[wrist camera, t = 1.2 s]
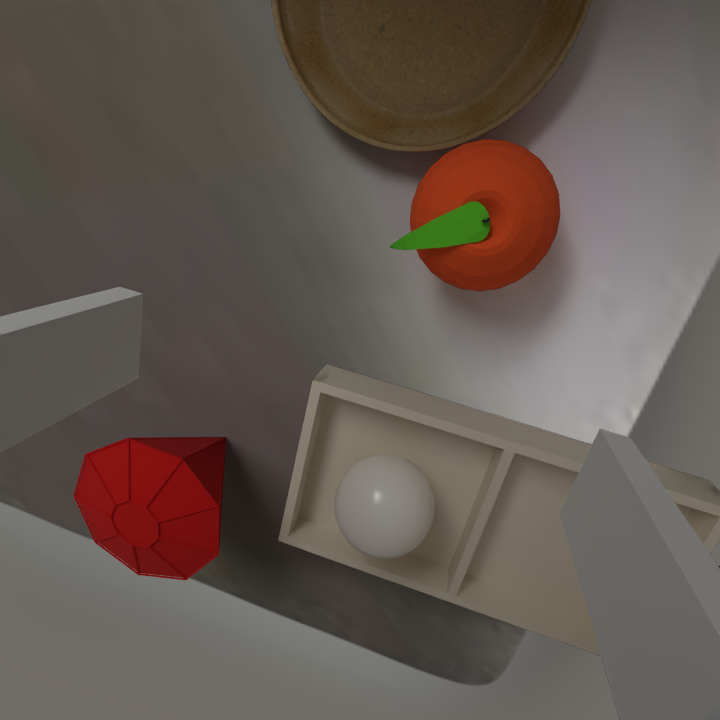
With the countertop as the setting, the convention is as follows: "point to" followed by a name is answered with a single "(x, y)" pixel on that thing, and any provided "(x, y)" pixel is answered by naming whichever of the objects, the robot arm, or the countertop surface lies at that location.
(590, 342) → the countertop surface
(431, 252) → the clementine
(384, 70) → the plant saucer
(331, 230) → the countertop surface
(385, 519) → the white ball
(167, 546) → the gemstone
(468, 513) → the divided tray
